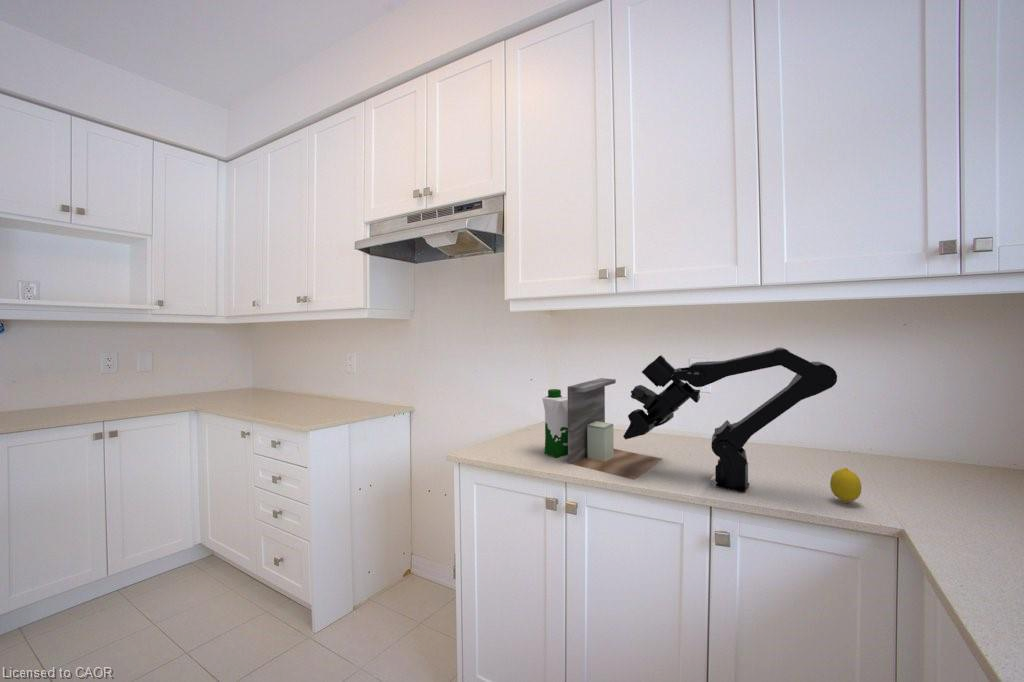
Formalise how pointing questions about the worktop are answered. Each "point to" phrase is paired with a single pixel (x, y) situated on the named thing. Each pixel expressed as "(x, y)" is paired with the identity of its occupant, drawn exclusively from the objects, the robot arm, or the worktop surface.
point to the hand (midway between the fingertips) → (631, 434)
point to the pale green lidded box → (600, 441)
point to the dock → (590, 408)
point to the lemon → (845, 485)
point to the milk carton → (556, 423)
